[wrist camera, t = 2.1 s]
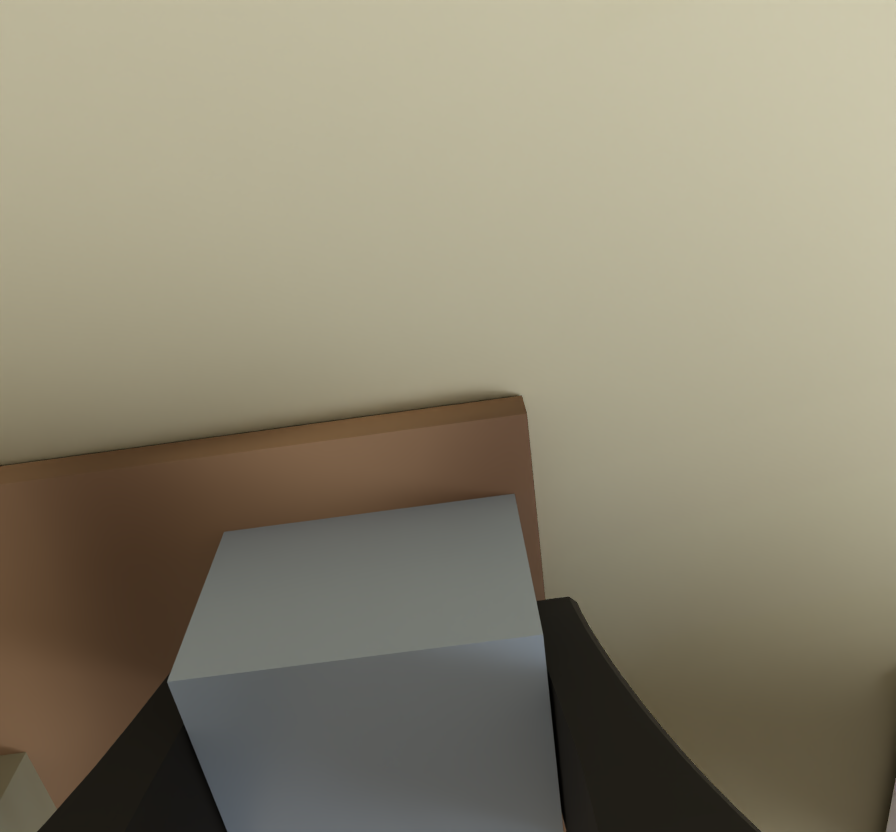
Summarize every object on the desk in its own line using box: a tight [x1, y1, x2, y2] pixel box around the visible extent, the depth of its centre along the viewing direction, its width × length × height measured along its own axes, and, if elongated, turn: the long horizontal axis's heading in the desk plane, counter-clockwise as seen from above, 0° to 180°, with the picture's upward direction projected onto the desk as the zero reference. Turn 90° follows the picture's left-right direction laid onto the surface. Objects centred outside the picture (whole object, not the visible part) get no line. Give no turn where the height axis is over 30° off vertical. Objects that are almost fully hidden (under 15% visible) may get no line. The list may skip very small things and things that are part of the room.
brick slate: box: [167, 494, 563, 832], centre depth 11 cm, size 4×4×3 cm
